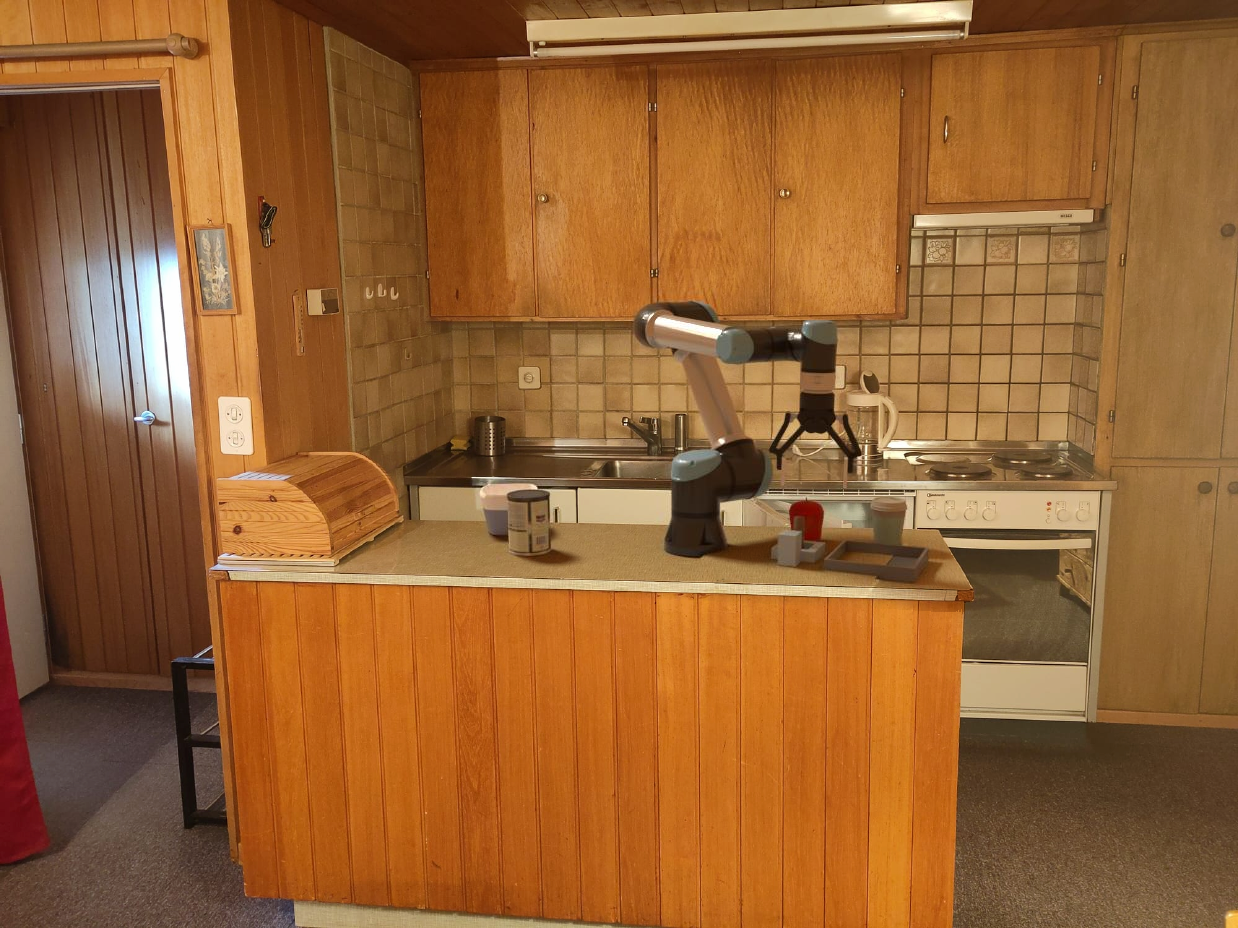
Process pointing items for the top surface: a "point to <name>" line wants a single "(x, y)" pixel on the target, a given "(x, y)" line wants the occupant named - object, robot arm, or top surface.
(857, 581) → the top surface
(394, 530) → the top surface
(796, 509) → the apple
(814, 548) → the ring
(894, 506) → the coffee cup
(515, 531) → the coffee can
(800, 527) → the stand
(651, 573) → the top surface
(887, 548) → the tray
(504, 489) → the plastic food container
